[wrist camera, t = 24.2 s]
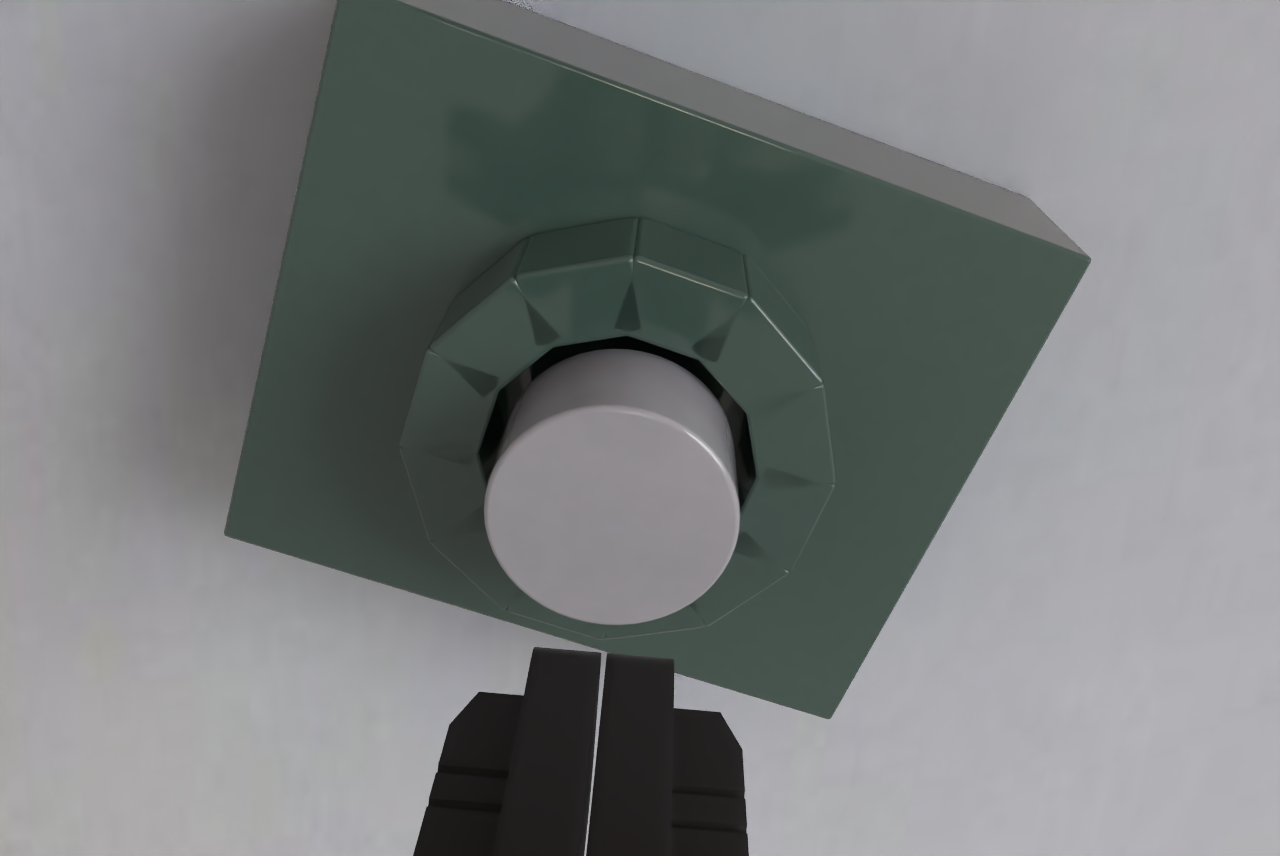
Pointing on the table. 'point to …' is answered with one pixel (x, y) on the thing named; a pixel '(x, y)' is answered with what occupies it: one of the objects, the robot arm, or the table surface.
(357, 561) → the green knob base
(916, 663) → the table surface
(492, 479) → the grey knob
